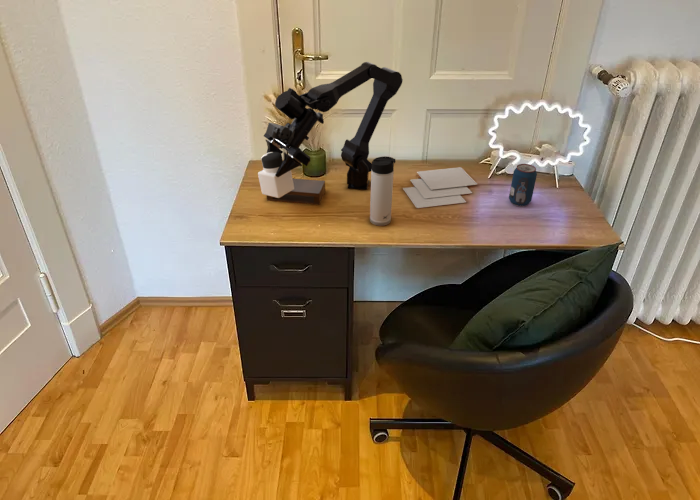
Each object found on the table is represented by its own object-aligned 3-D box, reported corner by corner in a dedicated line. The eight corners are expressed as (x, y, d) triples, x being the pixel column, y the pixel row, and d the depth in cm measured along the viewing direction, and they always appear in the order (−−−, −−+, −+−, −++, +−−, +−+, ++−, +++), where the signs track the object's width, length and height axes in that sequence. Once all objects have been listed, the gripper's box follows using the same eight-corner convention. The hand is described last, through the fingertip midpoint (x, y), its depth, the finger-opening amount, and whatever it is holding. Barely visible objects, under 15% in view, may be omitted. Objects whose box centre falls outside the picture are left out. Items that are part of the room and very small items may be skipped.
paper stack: (490, 199, 173) (491, 197, 172) (416, 208, 168) (416, 206, 167) (460, 168, 192) (460, 167, 191) (393, 176, 186) (393, 174, 186)
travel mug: (390, 227, 158) (394, 164, 147) (368, 224, 159) (370, 162, 148) (393, 216, 163) (396, 155, 152) (371, 214, 164) (373, 153, 153)
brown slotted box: (325, 191, 177) (325, 180, 174) (319, 205, 169) (319, 193, 167) (274, 187, 179) (274, 176, 177) (267, 200, 171) (266, 189, 169)
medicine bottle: (294, 189, 163) (288, 151, 157) (278, 198, 159) (271, 160, 152) (277, 185, 167) (270, 148, 161) (261, 194, 163) (253, 156, 156)
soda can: (523, 196, 175) (530, 161, 168) (534, 206, 169) (542, 171, 163) (504, 198, 174) (510, 164, 167) (514, 208, 168) (521, 173, 161)
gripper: (266, 103, 158) (236, 147, 159) (298, 122, 145) (265, 170, 146) (292, 123, 166) (263, 165, 167) (324, 143, 153) (292, 188, 154)
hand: (270, 171), depth 158 cm, fingers closed on medicine bottle, 7 cm apart
